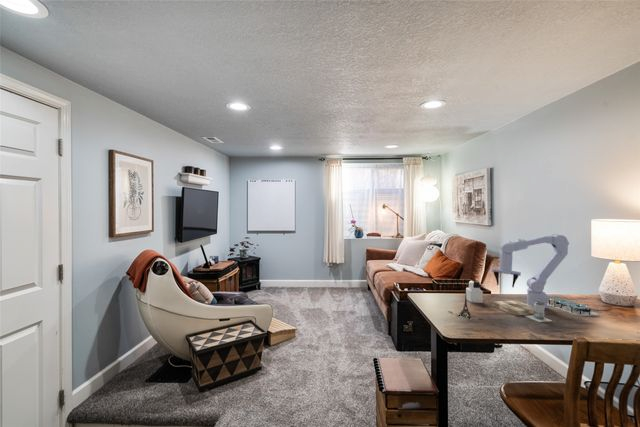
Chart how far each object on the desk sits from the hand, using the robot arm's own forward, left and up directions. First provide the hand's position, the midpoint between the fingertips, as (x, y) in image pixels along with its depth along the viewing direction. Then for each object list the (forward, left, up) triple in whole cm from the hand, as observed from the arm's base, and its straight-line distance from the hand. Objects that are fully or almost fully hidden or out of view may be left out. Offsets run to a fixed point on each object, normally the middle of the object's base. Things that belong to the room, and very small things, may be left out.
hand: (505, 285), depth 179 cm
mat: (+4, +25, -10) cm, 28 cm away
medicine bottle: (+16, -7, -11) cm, 20 cm away
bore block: (+4, +11, -10) cm, 16 cm away
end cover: (+3, +25, -10) cm, 27 cm away
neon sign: (-37, +15, -11) cm, 42 cm away
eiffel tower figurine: (+38, +14, -11) cm, 42 cm away
